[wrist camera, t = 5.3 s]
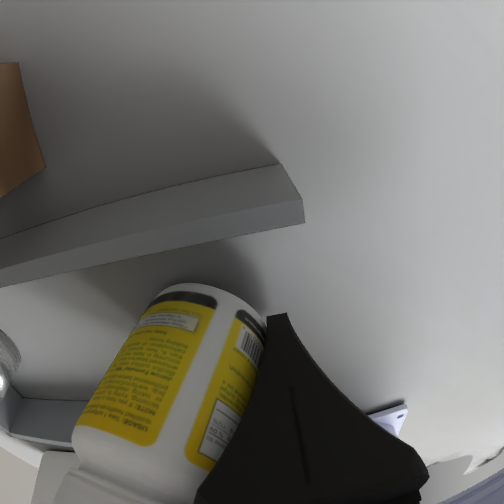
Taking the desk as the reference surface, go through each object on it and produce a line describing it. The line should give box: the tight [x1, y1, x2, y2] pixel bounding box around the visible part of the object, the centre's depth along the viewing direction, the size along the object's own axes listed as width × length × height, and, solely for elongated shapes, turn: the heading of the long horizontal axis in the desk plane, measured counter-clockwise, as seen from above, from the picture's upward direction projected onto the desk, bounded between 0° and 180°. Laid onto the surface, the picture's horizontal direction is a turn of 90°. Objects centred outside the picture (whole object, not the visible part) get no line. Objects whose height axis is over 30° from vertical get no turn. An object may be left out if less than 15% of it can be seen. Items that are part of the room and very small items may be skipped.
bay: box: [0, 164, 305, 447], centre depth 11 cm, size 11×19×3 cm, turn 100°
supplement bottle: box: [53, 283, 267, 504], centre depth 8 cm, size 5×5×8 cm
